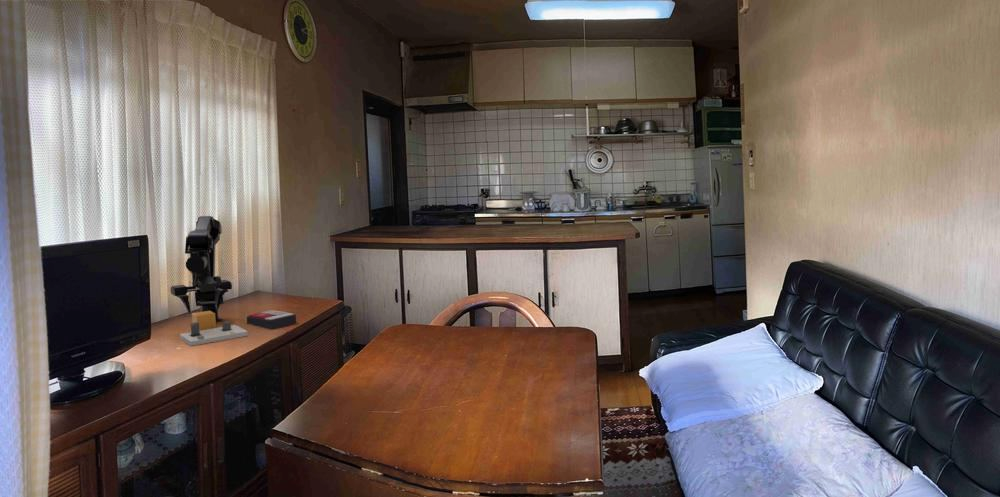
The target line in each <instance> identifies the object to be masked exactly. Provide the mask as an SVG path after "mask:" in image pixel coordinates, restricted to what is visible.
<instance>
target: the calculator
mask: <svg viewBox="0 0 1000 497" xmlns="http://www.w3.org/2000/svg"><path fill="white" fill-rule="evenodd" d="M247 324H248V325H252V326H255V327H260V328H264V329H266V330H274V329H278V328H279V329H280V328H282V327H288V326H291V325H295V324H297V315H296V314H295V313H292V312H291V313H290V312H288V311H287V312H286V311H280V310H279V311H278V310H273V309H272V310H271V309H270V310H267V311H262V312H257V313H252V314H248V316H246V325H247Z"/></svg>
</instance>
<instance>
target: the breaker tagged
mask: <svg viewBox="0 0 1000 497" xmlns="http://www.w3.org/2000/svg"><path fill="white" fill-rule="evenodd" d="M221 324H222V326H221V327H222V328H223V331H229V330H231V325H232V324H231V321H227V320H226V321H222V323H221Z"/></svg>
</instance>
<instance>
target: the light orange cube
mask: <svg viewBox="0 0 1000 497" xmlns="http://www.w3.org/2000/svg"><path fill="white" fill-rule="evenodd" d="M216 322H217V321H216V317H215V313H213V312H211V311H204V312H201V311H198V312H193V313H191V323H199V328H200V331H201V330H207V329H213V328H217V323H216Z"/></svg>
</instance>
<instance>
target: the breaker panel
mask: <svg viewBox="0 0 1000 497" xmlns="http://www.w3.org/2000/svg"><path fill="white" fill-rule="evenodd" d="M248 336H249V333H248V330H246V329H244V328H242V327H241V326H238V325H236V324H231V330H229V331H223V328H222V326H220V327H216V328H213V329H207V330H201V331H200V335H198V336H191V331H190V332H185V333H180V334H179V339H180V340H182V342H184V343H186V345H189V347H193V346H199V345H205V344H208V343H214V342H220V341H226V340H231V339H237V338H241V337H242V338H243V337H248Z"/></svg>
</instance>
